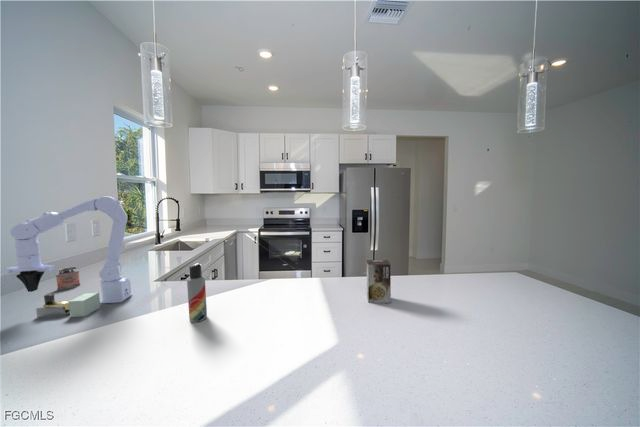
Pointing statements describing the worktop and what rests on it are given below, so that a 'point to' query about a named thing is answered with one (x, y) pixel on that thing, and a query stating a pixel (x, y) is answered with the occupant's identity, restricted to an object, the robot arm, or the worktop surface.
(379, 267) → the coffee box
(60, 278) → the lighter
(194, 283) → the lotion bottle
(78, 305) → the socket
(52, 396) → the worktop surface
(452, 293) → the worktop surface
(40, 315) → the grey u channel
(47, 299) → the sliding bolt
